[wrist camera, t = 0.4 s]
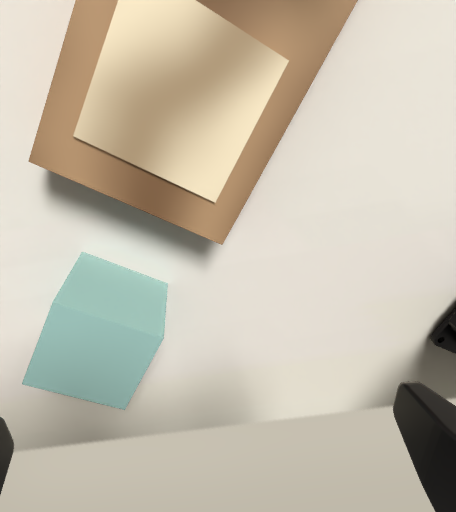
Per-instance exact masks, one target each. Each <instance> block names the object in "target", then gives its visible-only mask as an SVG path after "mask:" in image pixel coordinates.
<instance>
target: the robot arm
mask: <svg viewBox="0 0 456 512" xmlns="http://www.w3.org/2000/svg"><path fill="white" fill-rule="evenodd" d="M430 339H431V341H432V342H433V343H434V344H435V345H437V346H439V347H442V348H444V349H446V350H449V351H451V352H453V353H456V308H455V309H454V311H453V312H452V313H451V314H450V315H449V316H448V317H447V318H446V319H445V321H444V322H443V323H442V324H441V325H440V326H439V327H438V328H437V329H436V331H435V332H434V333H433V334H432V335H431V338H430ZM393 413H394V417H395V420H396V422H397V425H398V427H399V429H400V432H401V434H402V437H403V439H404V442H405V444H406V447H407V449H408V452H409V454H410V457H411V459H412V461H413V464H414V467H415V469H416V472H417V474H418V477H419V479H420V481H421V483H422V486H423V488H424V490H425V492H426V494H427V496H428V498H429V500H430V502H431V504H432V506H433V507H434V510H435V512H456V406H455V405H453V404H452V403H450V402H449V401H447V400H446V399H444V398H443V397H441V396H440V395H438V394H437V393H435V392H434V391H432V390H431V389H429V388H428V387H426V386H425V385H423V384H422V383H420V382H416V381H413V382H403V383H401V384H400V385H399V386H398V390H397V394H396V398H395V402H394V406H393ZM13 449H14V442H13V439H12V437H11V434H10V432H9V430H8V427H7V425H6V423H5V421H4V419H3V418H1V417H0V494H1V491H2V487H3V484H4V481H5V477H6V474H7V470H8V467H9V464H10V461H11V458H12V454H13Z"/></svg>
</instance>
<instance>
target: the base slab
mask: <svg viewBox="0 0 456 512" xmlns="http://www.w3.org/2000/svg"><path fill="white" fill-rule="evenodd" d="M357 1H358V0H76V1H75V5H74V8H73V12H72V15H71V18H70V22H69V25H68V29H67V32H66V35H65V39H64V42H63V46H62V49H61V52H60V56H59V59H58V63H57V66H56V69H55V73H54V76H53V80H52V83H51V87H50V90H49V93H48V97H47V100H46V104H45V107H44V110H43V114H42V117H41V121H40V124H39V127H38V131H37V134H36V138H35V141H34V144H33V148H32V151H31V155H30V158H29V162H31V163H33V164H36V165H38V166H40V167H43V168H45V169H47V170H49V171H52V172H54V173H56V174H59V175H61V176H63V177H66V178H68V179H70V180H73V181H75V182H77V183H80V184H82V185H84V186H87V187H89V188H91V189H94V190H96V191H98V192H101V193H103V194H105V195H108V196H110V197H112V198H114V199H117V200H119V201H121V202H124V203H126V204H128V205H131V206H133V207H135V208H138V209H140V210H142V211H145V212H147V213H149V214H152V215H154V216H156V217H159V218H161V219H163V220H166V221H168V222H170V223H173V224H175V225H177V226H179V227H182V228H184V229H186V230H189V231H191V232H193V233H196V234H198V235H200V236H203V237H205V238H207V239H210V240H212V241H214V242H217V243H219V244H221V245H222V244H223V243H224V241H225V239H226V237H227V235H228V234H229V232H230V230H231V228H232V226H233V225H234V223H235V221H236V219H237V217H238V215H239V214H240V212H241V210H242V208H243V206H244V205H245V203H246V201H247V199H248V197H249V196H250V194H251V192H252V190H253V188H254V187H255V185H256V183H257V181H258V179H259V178H260V176H261V174H262V172H263V170H264V169H265V167H266V165H267V163H268V161H269V159H270V158H271V156H272V154H273V152H274V150H275V149H276V147H277V145H278V143H279V141H280V140H281V138H282V136H283V134H284V132H285V131H286V129H287V127H288V125H289V123H290V122H291V120H292V118H293V116H294V114H295V113H296V111H297V109H298V107H299V105H300V103H301V102H302V100H303V98H304V96H305V94H306V93H307V91H308V89H309V87H310V85H311V84H312V82H313V80H314V78H315V76H316V75H317V73H318V71H319V69H320V67H321V66H322V64H323V62H324V60H325V58H326V57H327V55H328V53H329V51H330V49H331V47H332V46H333V44H334V42H335V40H336V38H337V37H338V35H339V33H340V31H341V29H342V28H343V26H344V24H345V22H346V20H347V19H348V17H349V15H350V13H351V11H352V10H353V8H354V6H355V4H356V2H357Z"/></svg>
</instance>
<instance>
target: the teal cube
mask: <svg viewBox="0 0 456 512" xmlns="http://www.w3.org/2000/svg"><path fill="white" fill-rule="evenodd" d="M167 287H168V284H167V283H165V282H162V281H159V280H157V279H154V278H151V277H149V276H146V275H143V274H141V273H138V272H135V271H133V270H130V269H127V268H125V267H122V266H119V265H117V264H114V263H111V262H109V261H106V260H103V259H100V258H98V257H95V256H92V255H90V254H87V253H84V252H82V253H81V255H80V257H79V258H78V260H77V262H76V263H75V265H74V267H73V268H72V270H71V272H70V274H69V275H68V277H67V279H66V280H65V282H64V284H63V286H62V287H61V289H60V291H59V292H58V294H57V296H56V298H55V299H54V301H53V303H52V306H51V308H50V311H49V314H48V316H47V319H46V321H45V324H44V327H43V329H42V332H41V335H40V337H39V340H38V343H37V345H36V348H35V351H34V353H33V356H32V359H31V361H30V364H29V367H28V369H27V372H26V375H25V377H24V380H23V383H22V384H23V385H27V386H31V387H35V388H39V389H43V390H47V391H51V392H55V393H59V394H63V395H67V396H71V397H75V398H79V399H83V400H87V401H91V402H95V403H99V404H103V405H107V406H111V407H115V408H119V409H123V410H125V408H126V407H127V405H128V403H129V401H130V399H131V397H132V396H133V394H134V392H135V390H136V388H137V386H138V384H139V383H140V381H141V379H142V377H143V375H144V373H145V372H146V370H147V368H148V366H149V364H150V362H151V361H152V359H153V357H154V355H155V353H156V351H157V350H158V348H159V346H160V344H161V342H162V340H163V338H164V327H165V314H166V300H167Z"/></svg>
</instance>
